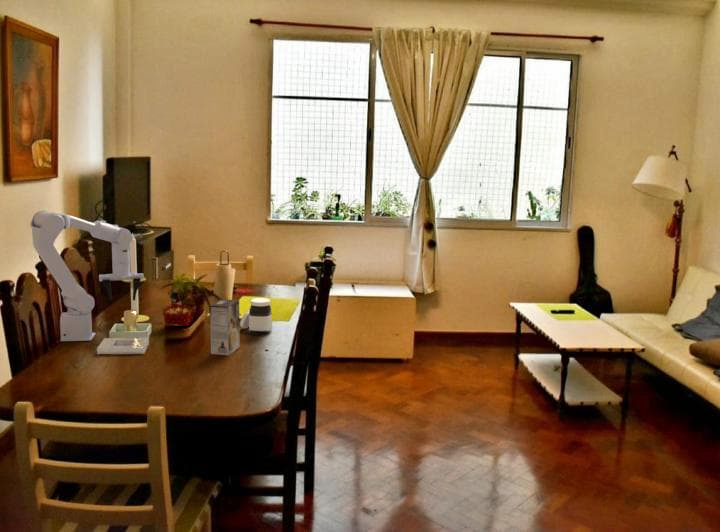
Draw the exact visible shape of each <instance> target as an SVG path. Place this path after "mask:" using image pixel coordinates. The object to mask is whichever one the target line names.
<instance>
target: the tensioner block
mask: <svg viewBox="0 0 720 532" xmlns="http://www.w3.org/2000/svg"><path fill="white" fill-rule="evenodd" d="M149 344H150V337H149V338H109V337H103V339H102V341H101V342H100V344H99V345H98V346H97V348H96V355H98V356H100V355H99V354H111V355H145V353H146V351H147V348H148V347H147V346H149Z"/></svg>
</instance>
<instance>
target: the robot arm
mask: <svg viewBox="0 0 720 532" xmlns="http://www.w3.org/2000/svg"><path fill="white" fill-rule="evenodd" d="M29 226H30V228H31V232H32V235H31V236H32V246H33V248H34V249H35V251H36V252H37V254H38V256H39V257H40V259H41V261H42V262H43V263H44V265H45V266H46V268H47V270H48V271H49V273H50V274H51V276H52V277H53V279H54V281H55V282H56V283H57V285H58V286H59V288H60V290H61V293H60V294H61V296H62V298H63V304H64V306H65V308H67V311H66V312H61V314H60V318H59V327H60V342H80V341H81V342H83V341H84V342H89V341H92V340H93V338H94V337H95V336H96V332H93V323H92V322H93V320H92V310H93V309H94V307H95V298H94V297H93V296H92V295H91V294H89V293H87V291H86V290H85V289H84V288H83V287H82V286H81V285H79V283H78V282H77V280H76V278H75V277H74V275H73V273H72V272H71V271H70V269H69V267H68V266H67V264H66V263H65V260H64V259H63V258H62V256H61V255H60V253H59V252H58V250H57V248H56V247H55V245H54V243H55V241H56V240H57V238H58V237H59V235H60V234H61V233H62V231H63V230H67V229H69V228H73V229H74V228H75V229H78V230H82V231H85V232H89V234H90V235H91V236H92V238H95V239H99V240H103V241H105V242H109V243H111V255H112V256H111V261H112V263H111V264H112V273H106V274H99V275H98V279H99V282H102V285H103V287H104V289H105V290H106V293H107V296H108V298H109V302H111V303H112V299H113V296H112V284H111V281H122V280H133V300H135V297H136V292H137V289H138V290H139V287H140V284H141V283H142V281H140V280H144V277H145V276H144V273H142V272H141V273H138V272H137V273H131V265H130V243H131V241H132V239H133V236H134V235H133V236H132V233H131V231H130V229H127V228H124V227H120V226H119V225H118V224H111V223H107V220H103V219H100V220H95V221H93V222H91V221H89V220H85V219H82V218H80V217H76V216H73V215H69V214H66V213H59V212H52V211H51V212H48V211H46V210H38V211H37V212H35V213H34V215H33V216H32V219H31V221H30V224H29Z"/></svg>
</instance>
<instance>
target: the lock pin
mask: <svg viewBox="0 0 720 532" xmlns="http://www.w3.org/2000/svg"><path fill="white" fill-rule="evenodd" d="M123 317H124V322H123V324H124V332H128V331H137V324H138V323H137V313H136V311H135V310H131V309H129V310H124V311H123Z"/></svg>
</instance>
